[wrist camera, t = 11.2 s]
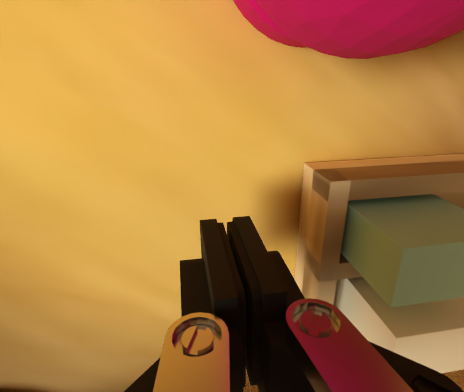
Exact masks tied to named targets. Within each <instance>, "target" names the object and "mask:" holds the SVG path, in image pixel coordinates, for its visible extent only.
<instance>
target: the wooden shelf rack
mask: <svg viewBox="0 0 464 392" xmlns="http://www.w3.org/2000/svg"><path fill="white" fill-rule="evenodd" d="M425 194H434V195H436V196H438V197H440V198H442V199H444V200H446V201H448V202H450V203H453V204H455V205H457V206H459V207H461V208H463V209H464V153H463V154H446V155H429V156H412V157H395V158H378V159H361V160H344V161H326V162H309V163H304V170H303V183H302V195H301V207H300V219H299V232H298V244H297V256H296V268H295V281H296V283H297V285H298V287H299V289H300V290H301V292H302V294H303V296H304V297H305V299H307V298H312V299H319V300H323V301H326V302H328V303H330V304H332V305H333V303H334V296H335V289H336V282H337V280H340V279H349V278H357V277H362V276H361V275H360V273H359V272H358V271H357V270H356V269H355V268H354V267H353V266H352V265H351V264H350V262H349V261H348V260H347V259H346V258H345V257H344V256H343V255H342V254H341V247H342V240H343V233H344V226H345V219H346V212H347V205H348V201H350V200H363V199H375V198H388V197H400V196H413V195H425Z"/></svg>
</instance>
